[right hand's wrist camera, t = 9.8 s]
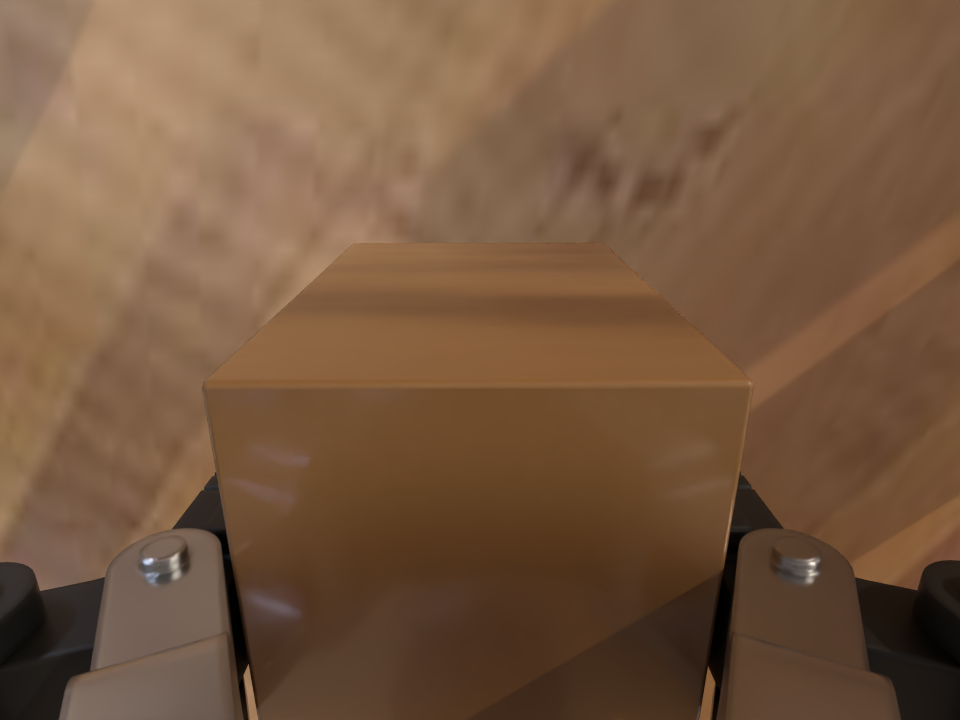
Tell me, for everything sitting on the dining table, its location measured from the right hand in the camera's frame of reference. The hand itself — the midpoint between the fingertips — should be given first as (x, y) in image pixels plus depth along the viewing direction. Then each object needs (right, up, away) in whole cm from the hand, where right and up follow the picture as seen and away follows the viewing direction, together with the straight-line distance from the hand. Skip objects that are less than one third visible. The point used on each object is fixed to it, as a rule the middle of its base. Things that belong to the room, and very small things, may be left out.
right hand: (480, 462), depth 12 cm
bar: (0, -7, +7) cm, 10 cm away
